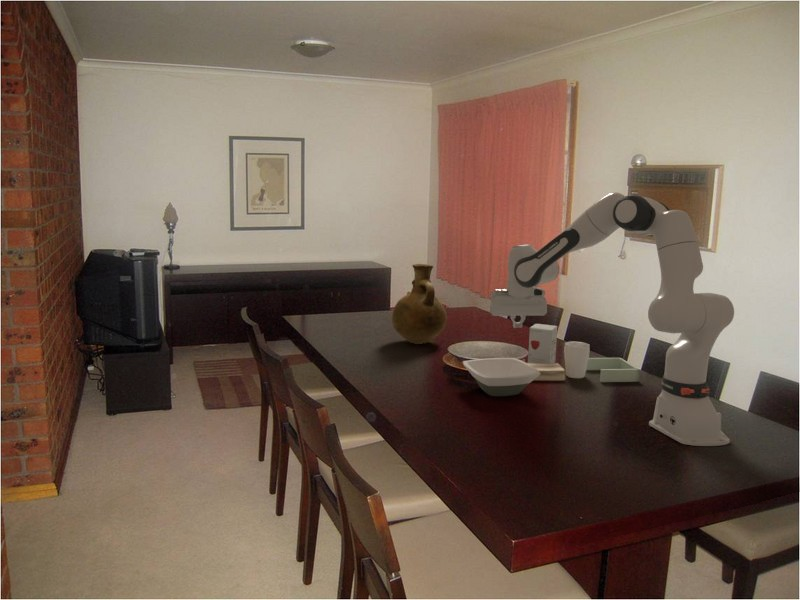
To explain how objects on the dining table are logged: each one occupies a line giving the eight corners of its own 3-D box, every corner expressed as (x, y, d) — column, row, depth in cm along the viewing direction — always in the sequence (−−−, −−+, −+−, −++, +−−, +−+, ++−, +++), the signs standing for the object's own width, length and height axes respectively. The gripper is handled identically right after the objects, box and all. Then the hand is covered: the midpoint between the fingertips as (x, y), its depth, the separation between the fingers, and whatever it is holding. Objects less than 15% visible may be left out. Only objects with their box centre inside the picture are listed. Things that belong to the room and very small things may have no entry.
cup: (589, 380, 227) (591, 347, 225) (563, 378, 228) (565, 346, 226) (586, 373, 235) (588, 342, 233) (562, 371, 237) (563, 340, 235)
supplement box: (526, 364, 246) (528, 327, 243) (533, 359, 254) (535, 323, 251) (550, 367, 242) (552, 329, 239) (555, 362, 250) (557, 325, 247)
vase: (455, 347, 271) (457, 266, 265) (403, 352, 262) (404, 269, 256) (432, 335, 293) (433, 260, 287) (383, 339, 284) (384, 262, 278)
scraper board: (564, 381, 226) (565, 370, 226) (531, 381, 226) (532, 370, 225) (557, 373, 236) (557, 363, 235) (525, 373, 236) (525, 362, 235)
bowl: (482, 404, 200) (483, 379, 198) (457, 383, 221) (457, 360, 220) (545, 399, 206) (546, 374, 204) (514, 379, 227) (515, 356, 226)
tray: (638, 381, 226) (639, 369, 225) (600, 382, 225) (601, 369, 224) (619, 369, 241) (620, 357, 241) (584, 369, 240) (585, 358, 239)
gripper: (492, 291, 221) (491, 329, 223) (549, 291, 222) (547, 329, 225) (488, 288, 227) (487, 325, 229) (544, 288, 228) (542, 325, 231)
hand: (517, 327), depth 227 cm, fingers closed
